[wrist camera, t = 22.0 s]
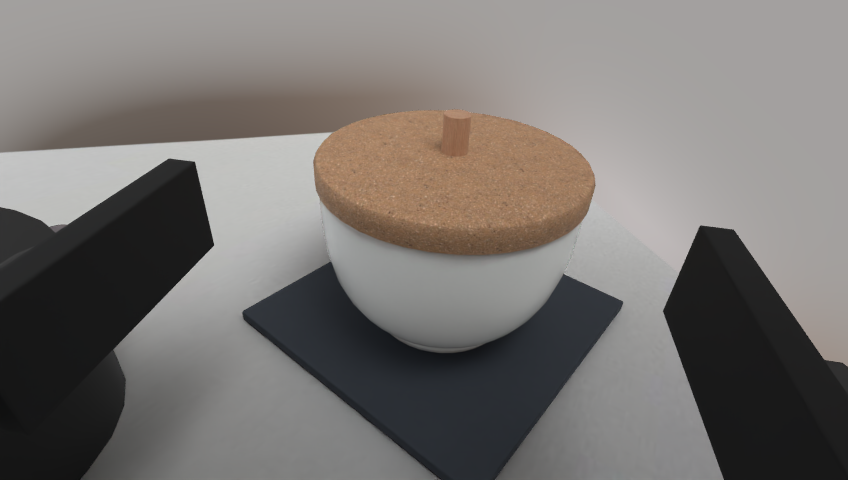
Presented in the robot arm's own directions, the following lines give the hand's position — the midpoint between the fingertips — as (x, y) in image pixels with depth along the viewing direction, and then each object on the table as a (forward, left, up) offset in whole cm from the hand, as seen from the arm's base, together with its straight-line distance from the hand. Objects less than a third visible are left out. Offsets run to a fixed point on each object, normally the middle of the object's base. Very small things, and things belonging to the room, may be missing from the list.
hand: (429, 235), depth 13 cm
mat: (+3, -6, -9) cm, 11 cm away
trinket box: (+3, -6, -8) cm, 11 cm away
